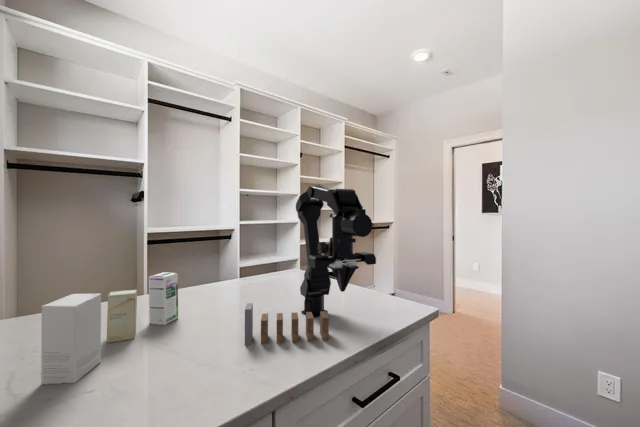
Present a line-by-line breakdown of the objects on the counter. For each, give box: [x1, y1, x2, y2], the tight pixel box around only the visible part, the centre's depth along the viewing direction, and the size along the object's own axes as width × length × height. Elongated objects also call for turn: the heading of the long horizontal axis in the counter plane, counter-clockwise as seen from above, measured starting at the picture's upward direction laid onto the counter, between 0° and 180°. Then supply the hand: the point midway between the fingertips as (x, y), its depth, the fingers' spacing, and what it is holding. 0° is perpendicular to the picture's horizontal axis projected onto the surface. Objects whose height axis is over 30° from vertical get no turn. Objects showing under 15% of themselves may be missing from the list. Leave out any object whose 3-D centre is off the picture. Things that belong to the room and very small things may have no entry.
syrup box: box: [148, 271, 179, 326], centre depth 89 cm, size 6×6×14 cm
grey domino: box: [244, 302, 254, 346], centre depth 76 cm, size 2×5×9 cm, turn 9°
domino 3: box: [290, 312, 299, 343], centre depth 78 cm, size 2×5×6 cm, turn 8°
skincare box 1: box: [40, 292, 102, 385], centre depth 60 cm, size 8×7×16 cm
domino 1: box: [260, 313, 269, 345], centre depth 76 cm, size 2×5×6 cm, turn 8°
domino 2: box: [276, 312, 284, 344], centre depth 77 cm, size 2×5×6 cm, turn 8°
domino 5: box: [319, 311, 330, 342], centre depth 79 cm, size 2×5×6 cm, turn 8°
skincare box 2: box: [106, 289, 138, 343], centre depth 77 cm, size 6×4×12 cm
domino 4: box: [305, 312, 315, 342], centre depth 78 cm, size 2×5×6 cm, turn 8°
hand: (342, 291), depth 79 cm, fingers closed
